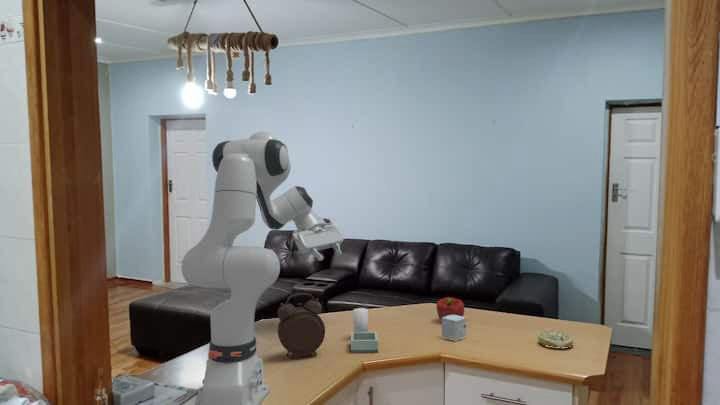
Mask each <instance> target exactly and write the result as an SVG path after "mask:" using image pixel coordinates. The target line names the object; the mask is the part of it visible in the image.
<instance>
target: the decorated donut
mask: <svg viewBox="0 0 720 405" xmlns="http://www.w3.org/2000/svg"><path fill="white" fill-rule="evenodd" d="M537 339H538V342H539V343H540V342H541V343H542V344H544V345H548V346H553V347H560V348H562V347H569V346H571V345H572V344H574V343H573V341H574V339H573V337H572V336H570V335H569V334H568V333H564V332H560V331H557V330H545V331H542V332H539V334H538V335H537ZM541 343H540V344H541ZM572 346H573V345H572Z"/></svg>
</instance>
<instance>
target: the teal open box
mask: <svg viewBox="0 0 720 405" xmlns="http://www.w3.org/2000/svg"><path fill="white" fill-rule="evenodd" d="M350 353H351V354H373V353H374V354H377V353H379V339H378V332H377V331H368V332H354V331H351V332H350Z"/></svg>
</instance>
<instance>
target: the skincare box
mask: <svg viewBox="0 0 720 405" xmlns="http://www.w3.org/2000/svg"><path fill="white" fill-rule="evenodd" d="M464 336H466V337H467V317H466V316H463V317H462V316H458V315H454V314H452V315H448V316H445V317H442V321H441V338H442V337H445V338H448V339H453V340H457V339H459V338H462V337H464Z"/></svg>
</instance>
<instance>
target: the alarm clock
mask: <svg viewBox="0 0 720 405" xmlns="http://www.w3.org/2000/svg"><path fill="white" fill-rule="evenodd" d="M299 296H309V297H311V299H309V300H307V301H306V302H305V303H304V305H303V302H297V306H299V307H295V306H294V304H292V303H290V300H291V299H292V298H295V297H299ZM322 311H323V306H322V303H321V302H320V301H319V298H318V297H316V298H315V297H314V296H313V294H311V293H307V292H301V293H293V294H291V295H289V296H288V297H287V299H286V301H285V303H283V302H281V303H280V306H279V307H278V309H277V311H276V312H277V317H278V320H279V323H278V325H277V336H278V339H279V341H280V343H281V345H282V347H283V348H284V350H286V351H287V353H286V354H285V356H286V357H289V354H290V357H289V359H293V357H294V356H299V357H303V356H304V357H305V356H308V355H310V354H312V353H314V355H315V356H317V354H318V353H317V352H316V351H317V350H318V349H319V348H320V347H321V346H322V344H323V342H324V339H325V335H326V326H325V323H324V321H323V319H322V318H321V317H320V315H321V314H322Z"/></svg>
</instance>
